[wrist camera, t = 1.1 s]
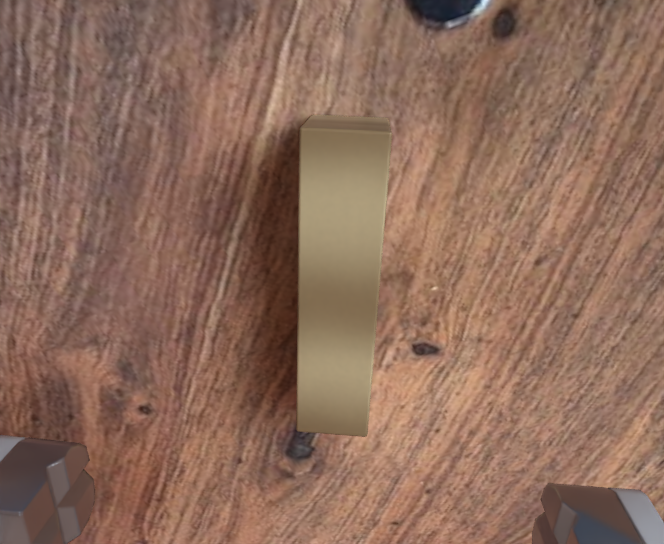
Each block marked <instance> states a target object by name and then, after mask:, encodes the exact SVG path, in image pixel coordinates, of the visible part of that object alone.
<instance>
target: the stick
mask: <svg viewBox="0 0 664 544" xmlns="http://www.w3.org/2000/svg"><path fill="white" fill-rule="evenodd" d="M391 141H392V132H391V127H390V123H389V119H388V118H378V117H356V116H335V115H314V114H313V115H311V116H310V117H309V119H308V120H307V121H306V122H305V123H304V124H303V125H302V126H301V127H300V130H299V209H298V312H297V415H296V429H297V431H299V432H311V433H324V434H336V435H349V436H362V437H366V436H367V434H368V421H369V409H370V397H371V385H372V373H373V360H374V348H375V336H376V324H377V312H378V300H379V287H380V275H381V263H382V251H383V239H384V226H385V214H386V202H387V190H388V178H389V166H390V153H391Z"/></svg>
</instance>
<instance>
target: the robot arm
mask: <svg viewBox="0 0 664 544" xmlns="http://www.w3.org/2000/svg"><path fill="white" fill-rule="evenodd" d="M89 460H90V459H89V455H88V451H87V447H86V446H85V445H83V444H80V443H74V442H65V441H56V440H47V439H39V438H30V437H28V438H24V437H15V436H7V435H0V544H67V543H69V542H70V541H72V540H73V539H75V538H76V537H78V536H79V535H80V534H81V533H82V531H83V529H84V527H85V526H86V524H87V522H88V521H89V518H90V515H91V512H92V509H93V506H94V502H95V485H94V480H93V478H92V477H91V476H90V475H89V474H88V473H87V472H86V471H85V470H84V468H85V466H86V465H87V463H88V462H89ZM541 502H542V505H543V508H544V511H545V512H544V513H542V514H541V515H540V516H538V517H537V518H536V519H535V522H534V527H533V531H532V544H664V522H663V520H662V519H661V517H660V516H659V514H658V512H657V511H656V509H655V508H654V506H653V504H652V503H651V501H650V500H649V498H648V496H647V495H646V494H645V493H643V492H642V491H641V490H635V489H621V488H605V487H593V486H580V485H567V484H554V483H548V484H547V485H546V486H545V488H544V490H543V493H542V496H541Z"/></svg>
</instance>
